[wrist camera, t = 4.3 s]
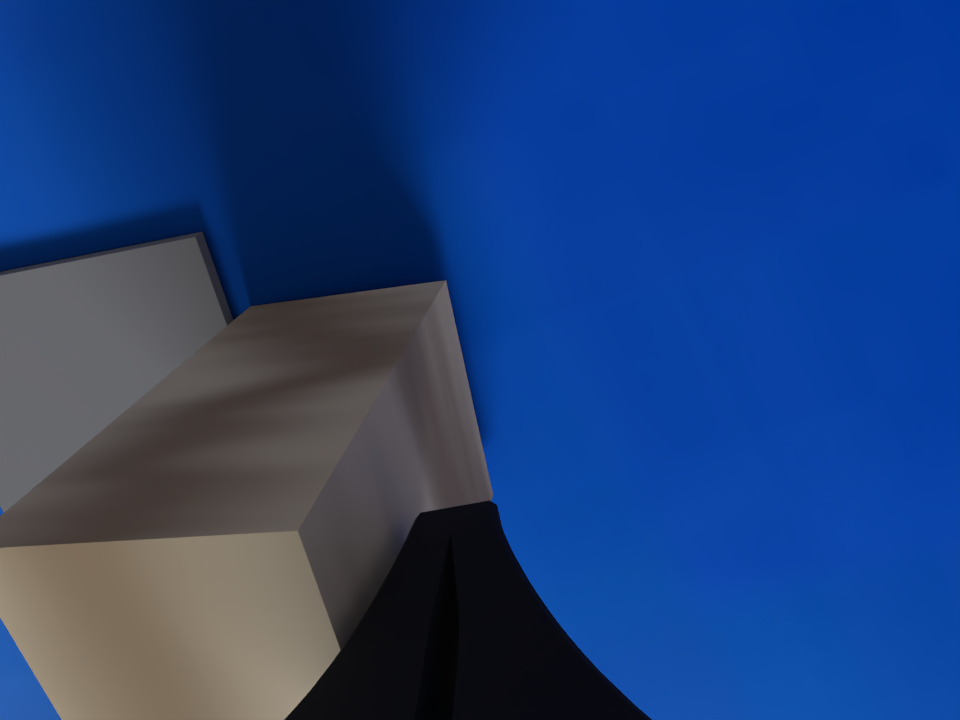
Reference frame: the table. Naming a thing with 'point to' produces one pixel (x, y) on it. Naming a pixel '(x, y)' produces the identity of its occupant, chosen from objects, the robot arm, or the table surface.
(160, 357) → the mat
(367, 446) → the maple block
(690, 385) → the table surface
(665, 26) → the table surface
